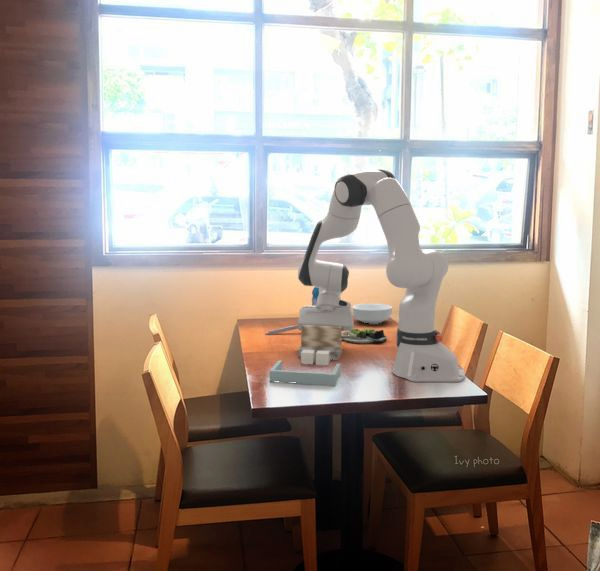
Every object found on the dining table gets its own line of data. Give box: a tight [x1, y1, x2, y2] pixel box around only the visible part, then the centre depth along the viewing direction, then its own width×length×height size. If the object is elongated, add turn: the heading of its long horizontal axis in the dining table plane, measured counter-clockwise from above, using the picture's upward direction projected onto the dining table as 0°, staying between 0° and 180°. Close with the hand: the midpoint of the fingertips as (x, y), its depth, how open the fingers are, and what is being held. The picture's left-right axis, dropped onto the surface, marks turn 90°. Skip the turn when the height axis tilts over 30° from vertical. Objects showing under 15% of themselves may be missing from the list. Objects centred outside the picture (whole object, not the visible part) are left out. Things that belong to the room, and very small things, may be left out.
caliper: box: [264, 324, 301, 335], centre depth 258 cm, size 20×1×6 cm, turn 99°
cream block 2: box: [315, 350, 331, 366], centre depth 215 cm, size 4×4×4 cm
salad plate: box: [342, 328, 387, 344], centre depth 249 cm, size 19×18×5 cm
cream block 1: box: [300, 350, 316, 365], centre depth 216 cm, size 4×4×4 cm
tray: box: [269, 359, 341, 387], centre depth 199 cm, size 20×12×4 cm, turn 79°
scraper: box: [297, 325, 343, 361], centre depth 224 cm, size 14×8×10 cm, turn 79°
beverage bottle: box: [311, 286, 319, 306], centre depth 274 cm, size 8×8×20 cm
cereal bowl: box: [351, 302, 393, 325], centre depth 278 cm, size 17×17×7 cm
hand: (323, 338), depth 232 cm, fingers closed
